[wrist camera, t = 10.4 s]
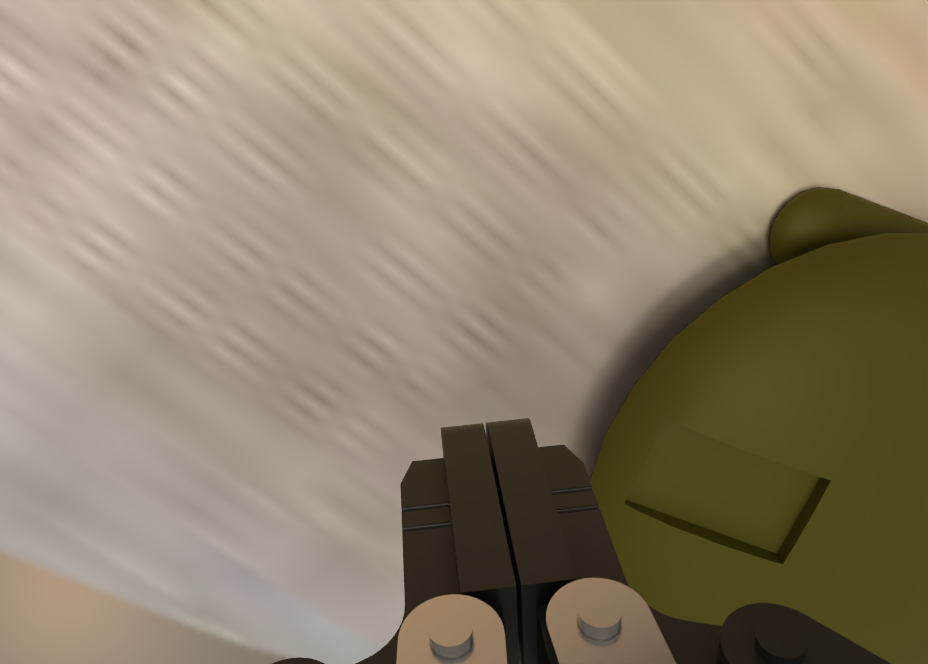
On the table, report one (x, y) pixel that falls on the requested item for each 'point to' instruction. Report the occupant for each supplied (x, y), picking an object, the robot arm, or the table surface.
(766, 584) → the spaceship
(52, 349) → the table surface
